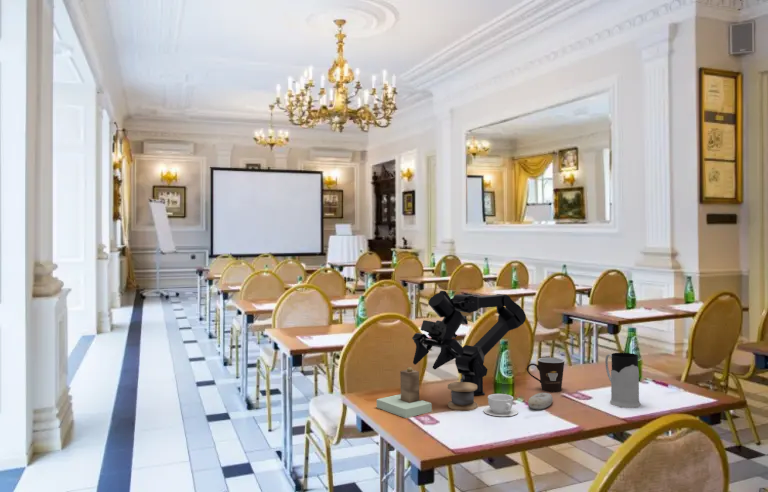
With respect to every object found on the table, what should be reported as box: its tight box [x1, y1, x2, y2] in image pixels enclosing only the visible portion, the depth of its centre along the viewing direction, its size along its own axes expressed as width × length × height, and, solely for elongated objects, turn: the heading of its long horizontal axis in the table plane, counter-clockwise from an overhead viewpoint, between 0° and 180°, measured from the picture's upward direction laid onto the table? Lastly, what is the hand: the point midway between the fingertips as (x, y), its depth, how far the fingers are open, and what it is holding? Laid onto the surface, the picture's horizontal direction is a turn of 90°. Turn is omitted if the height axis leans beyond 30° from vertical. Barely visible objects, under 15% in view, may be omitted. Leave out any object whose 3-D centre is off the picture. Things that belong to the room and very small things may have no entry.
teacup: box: [483, 393, 519, 417], centre depth 172 cm, size 10×10×5 cm
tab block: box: [399, 366, 420, 403], centre depth 178 cm, size 4×4×12 cm
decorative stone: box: [527, 392, 554, 410], centre depth 179 cm, size 6×16×3 cm, turn 148°
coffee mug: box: [526, 357, 565, 393], centre depth 198 cm, size 12×9×10 cm
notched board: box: [376, 393, 433, 419], centre depth 176 cm, size 10×14×2 cm
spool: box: [447, 381, 478, 412], centre depth 179 cm, size 9×9×6 cm
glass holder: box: [605, 352, 642, 409], centre depth 182 cm, size 9×14×15 cm, turn 12°
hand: (423, 366), depth 181 cm, fingers open, 9 cm apart
